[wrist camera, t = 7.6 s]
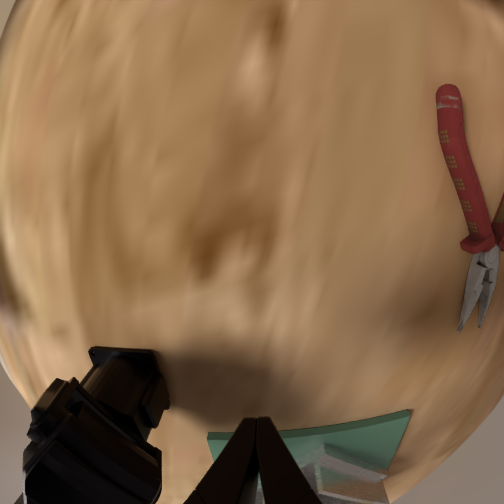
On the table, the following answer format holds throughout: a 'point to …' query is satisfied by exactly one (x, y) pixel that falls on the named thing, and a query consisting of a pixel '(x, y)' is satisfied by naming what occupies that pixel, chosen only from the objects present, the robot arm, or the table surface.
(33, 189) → the table surface
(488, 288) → the pliers
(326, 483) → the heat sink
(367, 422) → the green square mat
